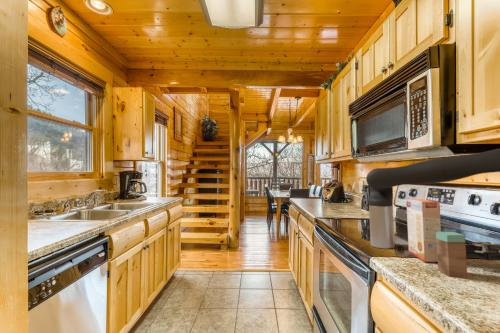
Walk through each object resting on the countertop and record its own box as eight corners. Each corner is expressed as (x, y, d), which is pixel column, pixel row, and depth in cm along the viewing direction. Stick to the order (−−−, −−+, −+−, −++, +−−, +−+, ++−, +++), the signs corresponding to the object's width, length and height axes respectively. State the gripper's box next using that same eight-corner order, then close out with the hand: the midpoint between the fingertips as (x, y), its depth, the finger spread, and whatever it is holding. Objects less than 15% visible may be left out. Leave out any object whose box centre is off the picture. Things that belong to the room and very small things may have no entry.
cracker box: (444, 263, 88) (440, 201, 89) (424, 262, 89) (420, 201, 90) (425, 252, 102) (422, 198, 103) (408, 251, 103) (405, 198, 104)
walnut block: (438, 270, 81) (435, 231, 82) (454, 270, 81) (452, 231, 82) (449, 276, 76) (447, 235, 77) (467, 276, 76) (464, 235, 77)
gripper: (506, 234, 85) (454, 234, 86) (554, 244, 71) (491, 245, 72) (507, 257, 85) (455, 257, 86) (556, 273, 71) (493, 272, 71)
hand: (472, 251), depth 79 cm, fingers open, 8 cm apart
